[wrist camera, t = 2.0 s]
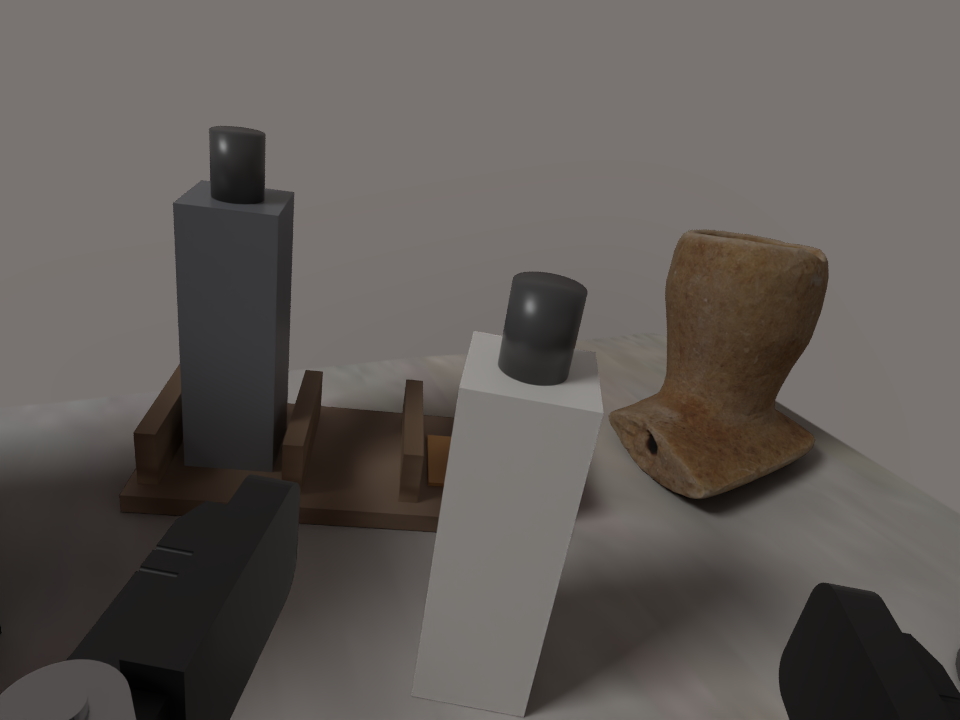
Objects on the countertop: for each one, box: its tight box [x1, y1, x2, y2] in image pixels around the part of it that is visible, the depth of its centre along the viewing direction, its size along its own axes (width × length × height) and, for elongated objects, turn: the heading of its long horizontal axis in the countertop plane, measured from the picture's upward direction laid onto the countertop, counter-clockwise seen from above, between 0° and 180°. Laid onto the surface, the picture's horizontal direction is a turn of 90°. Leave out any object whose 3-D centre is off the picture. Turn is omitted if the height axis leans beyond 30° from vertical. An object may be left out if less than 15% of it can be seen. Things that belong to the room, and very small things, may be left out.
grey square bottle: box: [173, 126, 294, 472], centre depth 35 cm, size 4×4×17 cm
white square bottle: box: [411, 272, 603, 717], centre depth 26 cm, size 4×4×17 cm
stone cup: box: [609, 230, 828, 499], centre depth 46 cm, size 15×12×15 cm
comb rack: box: [119, 364, 454, 532], centre depth 40 cm, size 22×10×4 cm, turn 94°
